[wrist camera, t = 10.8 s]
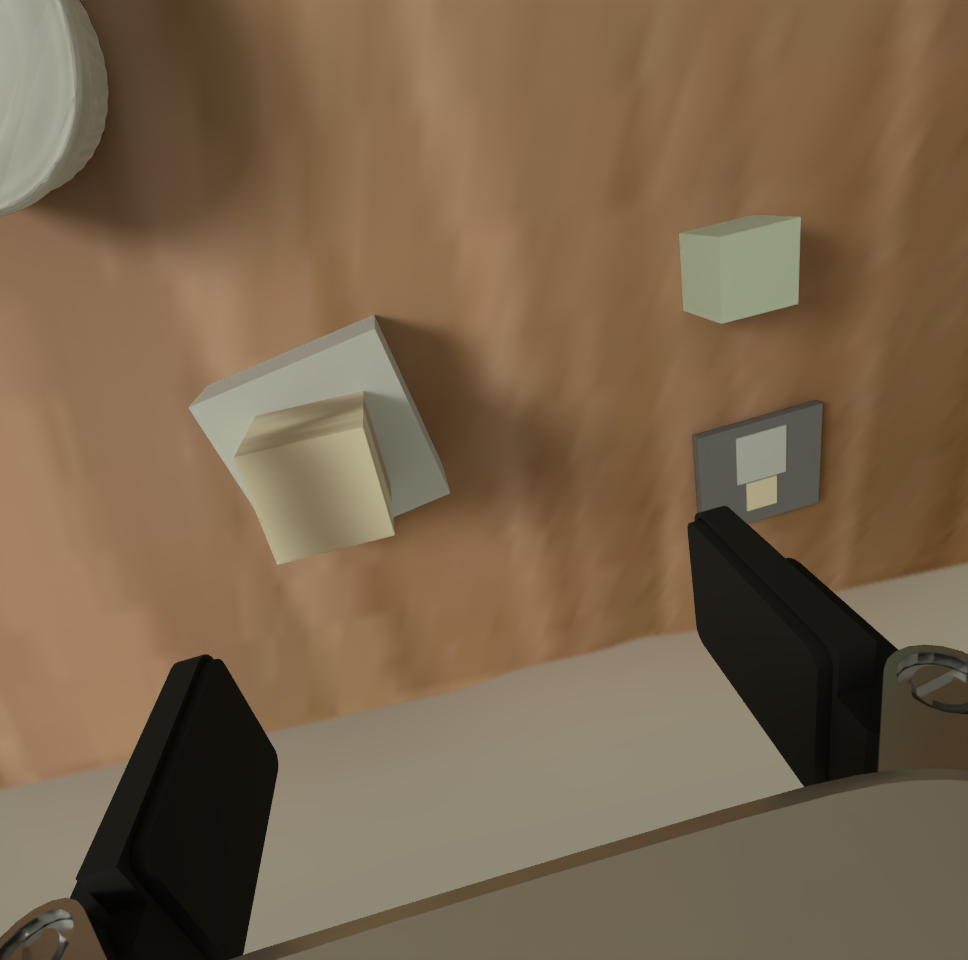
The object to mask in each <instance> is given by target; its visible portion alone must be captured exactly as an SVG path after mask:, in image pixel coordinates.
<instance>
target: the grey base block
mask: <svg viewBox="0 0 968 960" xmlns="http://www.w3.org/2000/svg"><path fill="white" fill-rule="evenodd" d="M361 391H364V395H365V398H366V401H367V405H368V408H369V412H370V415H371V419H372V422H373V426H374V429H375V433H376V436H377V440H378V443H379V447H380V450H381V454H382V457H383V461H384V464H385V468H386V471H387V475H388V478H389V482H390V485H391V497H392V508H393V517H395V516H398V515H400V514H402V513H405V512H407V511H410V510H412V509H414V508H417V507H419V506H421V505H424V504H426V503H429V502H431V501H433V500H436V499H438V498H440V497H443V496H445V495H447V494H450V489H449V486H448V482H447V479H446V475H445V472H444V468H443V465H442V463H441V460H440V458H439V456H438V454H437V452H436V449H435V447H434V445H433V443H432V441H431V438H430V436H429V434H428V432H427V430H426V427H425V425H424V423H423V421H422V419H421V417H420V414H419V412H418V410H417V408H416V406H415V403H414V401H413V399H412V397H411V395H410V392H409V390H408V388H407V386H406V384H405V381H404V379H403V377H402V375H401V373H400V370H399V368H398V366H397V364H396V362H395V359H394V357H393V355H392V353H391V351H390V349H389V346H388V344H387V342H386V340H385V338H384V335H383V333H382V331H381V329H380V327H379V324H378V322H377V320H376V318H375V316H374V315H372V316H370V317H368V318H365V319H363V320H361V321H358V322H356V323H353V324H351V325H349V326H346V327H344V328H342V329H339V330H337V331H335V332H332V333H330V334H327V335H325V336H323V337H320V338H318V339H316V340H313V341H311V342H309V343H306V344H304V345H302V346H299V347H297V348H294V349H292V350H290V351H287V352H285V353H283V354H280V355H278V356H276V357H273V358H271V359H269V360H266V361H264V362H261V363H259V364H257V365H254V366H252V367H250V368H247V369H245V370H243V371H240V372H238V373H235V374H233V375H231V376H228V377H226V378H224V379H221V380H219V381H217V382H214V383H212V384H210V385H208V386H207V387H206V388H205V389H204V390H203V391H202V392H201V394H200V395H199V396H198V397H197V398H196V399H195V400H194V402H193V403H192V404H191V405H190V406H189V407H188V408H189V409H190V411H191V413H192V414H193V416H194V417H195V419H196V420H197V422H198V423H199V425H200V426H201V428H202V429H203V431H204V432H205V434H206V436H207V437H208V439H209V440H210V442H211V443H212V445H213V446H214V448H215V449H216V451H217V452H218V454H219V455H220V457H221V458H222V460H223V462H224V463H225V465H226V466H227V468H228V469H229V471H230V472H231V474H232V475H233V477H234V478H235V480H236V481H237V483H238V484H239V486H240V488H241V489H242V491H243V492H244V494H245V495H246V497H247V498H248V500H249V501H250V503H251V504H252V501H251V499H250V497H249V494H248V492H247V489H246V487H245V484H244V482H243V480H242V477H241V475H240V472H239V470H238V467H237V465H236V462H235V460H234V456H235V454H236V452H237V450H238V448H239V446H240V444H241V442H242V440H243V439H244V437H245V435H246V433H247V431H248V429H249V427H250V425H251V423H252V421H253V419H254V418H255V416H257V415H261V414H265V413H270V412H274V411H278V410H283V409H287V408H291V407H296V406H300V405H304V404H309V403H313V402H317V401H322V400H326V399H330V398H335V397H339V396H343V395H348V394H352V393H356V392H361ZM252 506H253V504H252ZM253 507H254V506H253Z"/></svg>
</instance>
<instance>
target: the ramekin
mask: <svg viewBox="0 0 968 960" xmlns="http://www.w3.org/2000/svg"><path fill="white" fill-rule="evenodd" d="M108 94H109V91H108V85H107V71H106V67H105V61H104V56H103V53H102V51H101V48H100V45H99V40H98V37H97V34H96V32H95V30H94V28H93V26H92V24H91V22H90V19H89V16H88V14H87V12H86V10H85V8H84V7H83V6H82V4H81V2H80V0H0V217H2V216H5V215H9V214H12V213H14V212H17V211H19V210H22V209H24V208H26V207H28V206H30V205H32V204H33V203H35V202H37V201H38V200H40V199H41V198H43V197H44V196H45V195H46V194H48V193H49V192H50V191H51V190H54V189H56V188H59V187H61V186H62V185H63V184H65V183H66V182H68V181H70V180H71V179H73V178H74V176H75V174H76V173H77V172H79V171H81V170H82V169H83V168H84V167H85V165H86V163H87V161H88V160H89V159H91V157H92V156H93V154H94V152H95V149H96V148H97V146H98V145H99V143H100V140H101V136H102V133H103V131H104V129H105V119H106V116H107V113H108V103H107V101H108Z"/></svg>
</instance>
